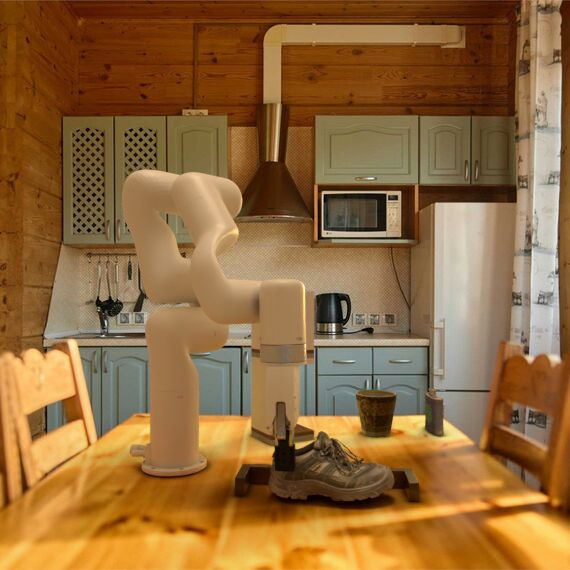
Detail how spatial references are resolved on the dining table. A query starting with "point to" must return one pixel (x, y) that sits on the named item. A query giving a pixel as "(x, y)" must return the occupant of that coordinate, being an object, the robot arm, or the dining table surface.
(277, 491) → the hiking shoe
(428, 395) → the flask
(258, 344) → the cream pedestal stand
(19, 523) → the dining table surface
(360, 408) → the ceramic cup
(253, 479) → the bracket
